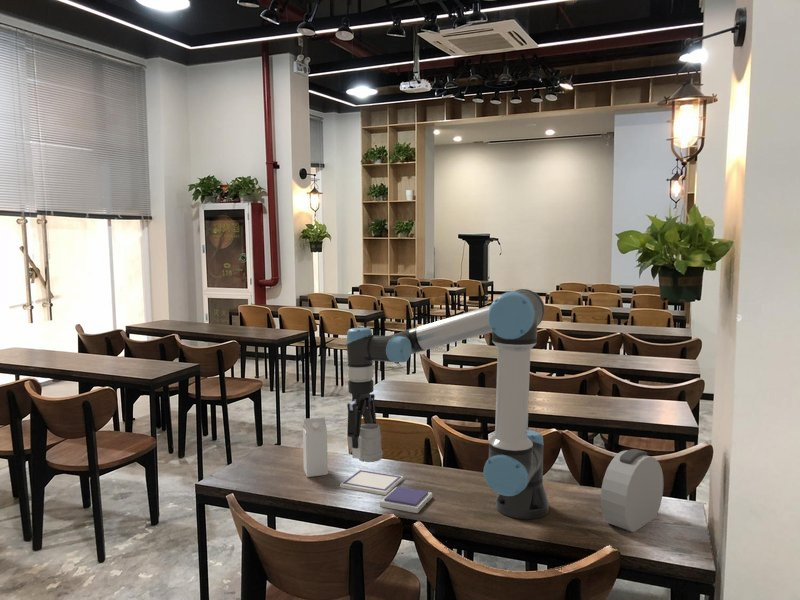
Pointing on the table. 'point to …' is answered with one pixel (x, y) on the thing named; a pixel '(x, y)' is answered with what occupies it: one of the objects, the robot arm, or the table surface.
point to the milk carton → (315, 447)
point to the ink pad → (406, 499)
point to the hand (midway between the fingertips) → (363, 453)
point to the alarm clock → (631, 490)
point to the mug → (369, 443)
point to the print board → (372, 482)
